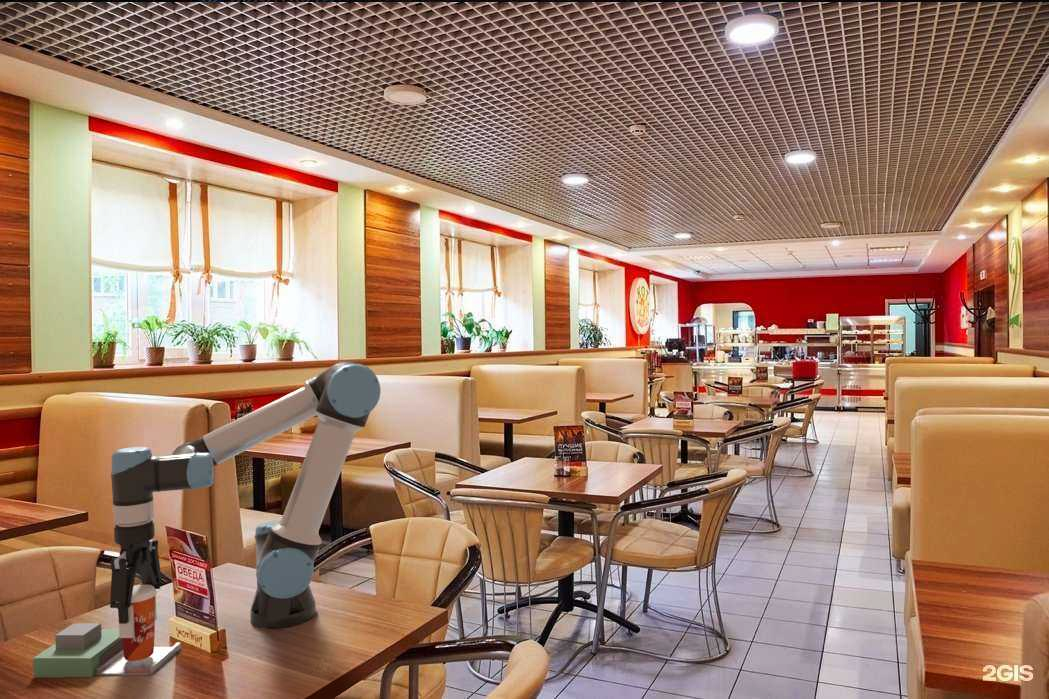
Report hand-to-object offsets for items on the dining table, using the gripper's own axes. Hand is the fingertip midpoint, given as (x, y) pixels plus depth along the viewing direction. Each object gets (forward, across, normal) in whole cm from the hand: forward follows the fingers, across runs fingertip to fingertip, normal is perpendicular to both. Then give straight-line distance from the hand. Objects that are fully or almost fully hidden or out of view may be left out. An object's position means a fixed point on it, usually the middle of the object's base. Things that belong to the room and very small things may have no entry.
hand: (138, 628), depth 156 cm
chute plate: (+7, 0, 0) cm, 7 cm away
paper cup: (+6, 0, 0) cm, 6 cm away
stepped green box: (+7, 0, -12) cm, 14 cm away
